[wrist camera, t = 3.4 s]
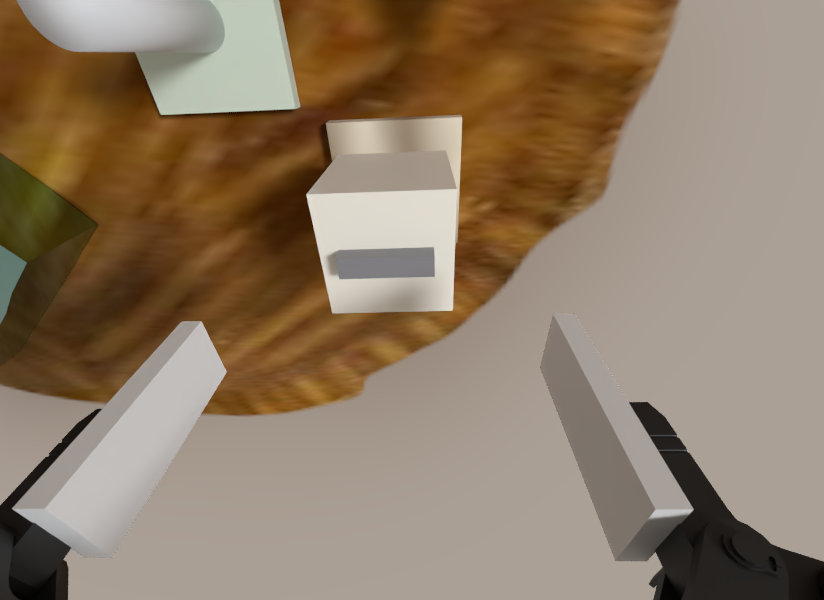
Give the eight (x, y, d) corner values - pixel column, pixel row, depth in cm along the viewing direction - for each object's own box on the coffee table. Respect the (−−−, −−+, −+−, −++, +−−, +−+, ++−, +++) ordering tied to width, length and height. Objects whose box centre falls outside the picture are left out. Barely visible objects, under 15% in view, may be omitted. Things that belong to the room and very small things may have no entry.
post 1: (170, 112, 26) (22, 147, 16) (95, -78, 20) (-203, -200, 11) (300, 106, 26) (228, 138, 16) (260, -90, 20) (110, -226, 10)
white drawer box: (353, 251, 27) (328, 323, 20) (337, 154, 23) (300, 201, 16) (444, 248, 27) (454, 321, 20) (445, 150, 23) (459, 196, 15)
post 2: (348, 240, 32) (318, 321, 22) (329, 120, 26) (276, 159, 17) (456, 236, 32) (472, 318, 22) (460, 114, 26) (486, 151, 16)
